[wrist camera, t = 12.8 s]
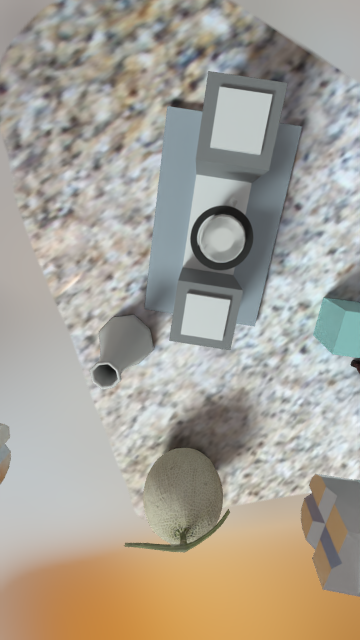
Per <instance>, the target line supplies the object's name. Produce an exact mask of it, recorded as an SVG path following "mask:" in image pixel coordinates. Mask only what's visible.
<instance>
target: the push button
mask: <svg viewBox="0 0 360 640" xmlns="http://www.w3.org/2000/svg"><path fill="white" fill-rule="evenodd" d="M231 202H232V203H233V206H231V205H230V203H231ZM237 202H238V201H237V200H235V199H233V198H231V199H230V200H229V202H228V204H227V206H215V207H212V208H210V209H208V210H206V211H205V212H203V213H202V214H201V215H200V216H199V217H198V218H197V220H196V221H195V223H194V225H193V227H192V230H191V236H190V243H191V248H192V251H193V253H194V255H195V257H196V258H197V259H198V261H199V262H200V263H202V264H203V265H204V266H206V267H208V268H210V269H214V270H228V269H231V268H234V267H236V266H237V265H239V264H240V263H241V262H243V261H244V260H245V258H246V257H247V256H248V254H249V252H250V250H251V248H252V244H253V229H252V226H251V223H250V221H249V220H248V218H247V217H246V216H245V214H244V213H242V212H241V211H240V210H238V209H236V208H235V206H236V204H237ZM212 215H214V216H213V217H211V218H210V219H209V220H207V221H206V222H205V223H204V224H203V226H202V228H201V230H200V232H199V240H198V241H199V245H198V242H197V235H198V231H199V228H200V226H201V225H202V223H203V222H204V221H205V220H206V219H207V218H209V217H210V216H212Z"/></svg>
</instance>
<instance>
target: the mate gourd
mask: <svg viewBox="0 0 360 640" xmlns="http://www.w3.org/2000/svg"><path fill="white" fill-rule="evenodd" d="M351 366H352V367H355V368H357V370H358V372H359V373H360V361H356V360H353V361H352V362H351Z"/></svg>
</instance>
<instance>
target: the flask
mask: <svg viewBox="0 0 360 640" xmlns="http://www.w3.org/2000/svg"><path fill="white" fill-rule="evenodd" d="M99 340H100V358H99V361H98V362H97V363H96V364H95V365H94V366H93V367H92V368H91V369H90V370H89V371H90V375H91V379H92V382H93V383H95V384H96V385H97V386H98V387H99V388H100V389H109V388H114V387H115V386H116V385H117V384H118V383H119V382H120V381H121V373H122V371H123V370H125V369H127V368H129V367H132V366H134V365H137V364H139V363H140V362H141V361H142V360H143V359H144V358H146V357H147V356H148V355H149V354H150V353H151V352H152V351H153V350H154V347H153V342H152V337H151V331H150V329H149V328H148V327H147V326H146V325H145V324H144V323H142V322H141V321H140V320H139V319H138V318H137V317H136V316H135V315H128V316H120V317H113V318H112V319H111V320H110V321H109V322H108V323H107V324H106V325H105V326H104V327H103V328H102V329H101V330H100V331H99Z"/></svg>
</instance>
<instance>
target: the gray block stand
mask: <svg viewBox="0 0 360 640" xmlns="http://www.w3.org/2000/svg"><path fill="white" fill-rule="evenodd" d="M287 85H288V83H285V82H278V81H271V80H265V79H258V78H251V77H244V76H238V75H231V74H224V73H218V72H211V71H208V78H207V85H206V92H205V98H204V105H203V111H196V110H190V109H183V108H176V107H170V106H167V115H166V123H165V132H164V141H163V150H162V159H161V167H160V176H159V185H158V194H157V202H156V211H155V220H154V229H153V238H152V246H151V255H150V264H149V273H148V281H147V290H146V299H145V308H144V309H148V310H154V311H160V312H167V313H173V318H172V325H171V332H170V339H169V341H175V342H181V343H188V344H194V345H200V346H207V347H213V348H219V349H226V350H230V349H231V344H232V339H233V335H234V330H235V325H236V323H237V324H243V325H249V326H255V323H256V319H257V315H258V311H259V306H260V302H261V298H262V294H263V290H264V285H265V281H266V277H267V273H268V269H269V264H270V260H271V256H272V252H273V247H274V243H275V239H276V235H277V231H278V226H279V222H280V218H281V214H282V210H283V205H284V201H285V197H286V193H287V188H288V184H289V180H290V176H291V172H292V167H293V163H294V159H295V155H296V151H297V146H298V142H299V138H300V134H301V129H302V126H296V125H289V124H283V123H279V122H280V117H281V112H282V108H283V103H284V99H285V94H286V89H287ZM231 198H233V199H235V200H237V201H238V202H237V204H236V206H235V208H236V209H238V210H240V211H241V212H242V213H244V214H245V216H246V217H247V218H248V220H249V221H250V223H251V226H252V229H253V244H252V248H251V250H250V252H249V254H248V256H247V257H246V258H245V260H244V261H243V262H241V263H240V264H239V265H237V266H236V267H234V268H231V269H228V270H214V269H210V268H208V267H206V266H204V265H203V264H202V263H200V262H199V261H198V259H197V258H196V257H195V255H194V253H193V251H192V248H191V243H190V236H191V230H192V227H193V225H194V223H195V221H196V220H197V218H198V217H199V216H200V215H201V214H202V213H203V212H205V211H206V210H208V209H210V208H212V207H215V206H227V204H228V202H229V200H230V199H231ZM230 205H231V206H233V203H232V202H231V203H230ZM213 216H214V215H212V216H210V217H209V218H207V219H206V220H205V221H204V222H203V223H202V225H201V226H200V228H199V231H198V235H197V242H198V245H199V241H198V240H199V232H200V230H201V228H202V226H203V224H204V223H205V222H206V221H207V220H209V219H210V218H211V217H213Z"/></svg>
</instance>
